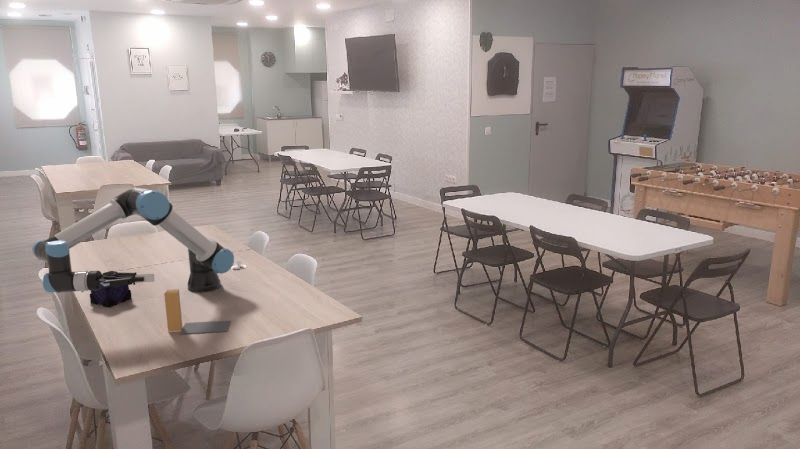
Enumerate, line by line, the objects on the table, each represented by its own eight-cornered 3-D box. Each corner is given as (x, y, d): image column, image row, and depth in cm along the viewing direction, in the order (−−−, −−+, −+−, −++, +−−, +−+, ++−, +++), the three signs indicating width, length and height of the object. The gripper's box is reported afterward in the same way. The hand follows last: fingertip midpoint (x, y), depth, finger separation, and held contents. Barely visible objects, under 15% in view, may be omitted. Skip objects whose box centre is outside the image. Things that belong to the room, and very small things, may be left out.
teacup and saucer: (236, 271, 315) (235, 263, 314) (226, 268, 320) (226, 261, 319) (249, 267, 322) (249, 259, 321) (240, 264, 327) (239, 257, 326)
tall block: (168, 332, 236) (164, 293, 233) (170, 327, 241) (167, 289, 237) (180, 331, 237) (176, 293, 233) (182, 327, 241) (178, 289, 238)
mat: (179, 334, 234) (179, 333, 234) (185, 323, 244) (185, 322, 244) (227, 331, 236) (227, 330, 236) (230, 321, 247) (230, 320, 247)
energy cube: (114, 295, 279) (111, 270, 276) (131, 299, 274) (128, 274, 271) (90, 303, 269) (87, 278, 266) (108, 307, 263) (105, 281, 261)
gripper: (96, 284, 237) (158, 281, 240) (84, 295, 224) (150, 292, 228) (93, 266, 235) (156, 263, 239) (81, 276, 223) (148, 273, 226)
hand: (153, 277), depth 233 cm, fingers closed
